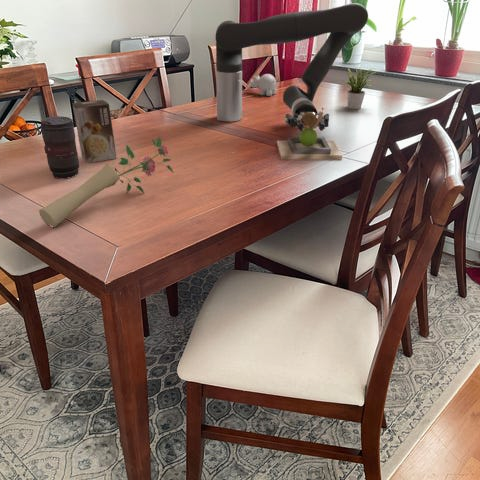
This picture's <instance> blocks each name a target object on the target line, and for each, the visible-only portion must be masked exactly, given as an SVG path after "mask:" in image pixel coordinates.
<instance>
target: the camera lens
mask: <svg viewBox="0 0 480 480" xmlns="http://www.w3.org/2000/svg"><path fill="white" fill-rule="evenodd" d="M74 126H75V125H74V123H73V119H72V118H70V117H67V116H62V115H61V116H49V117H48V116H47V117H45V118H43V119H41V120H40V130H41V135H42V136H41V137H42V139H43V140H42V141H43V142H44V153H45V154H46V161H47V165H48V167H49V171H50V172H51V173H52V176H53V178H55V177H57V178H56V179H60V178H64V179H69V178H68V177H71V178H73V177H72V176H74V177H76V176H77V175H78V174H79V168H80V163H79V162H80V161H79V154H78V149H77V142H76V133H75V127H74ZM75 175H76V176H75Z"/></svg>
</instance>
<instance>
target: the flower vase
mask: <svg viewBox="0 0 480 480" xmlns="http://www.w3.org/2000/svg"><path fill="white" fill-rule="evenodd" d="M151 141H152V143H153V145H154V148H153V149H154V152H157V151H158V153H156V154H155V155H154V156H152V157H151V156H147V155H146V156H144V158H143V159H142V162H141V161H140V162H139V163H140V164H138V165H136V166H134V167H131V168H128V169H127V170H126V171H123V173H120V171H119V170H118V169H117V167H114V168H112V166H110V164H109V163H108V162H107V163H106V164H105V165H103V167H102V168H101V169H100V170H99V171H97V173H95V174H94V175H93V176H92V177H91V178H89V179H88V180H86V181H85V182H84V183H83V184H81V185H80V186H79V187H77V188H75V189H74V190H71V191H70V192H68V193H67V194H65V195H63V196H61V197H59V198H57V199H56V200H54V201H53V202H50V203H49V204H47V205H46V206H44V207H42V208H40V209H39V210H38V212H39V216H40V218H41V220H42V221H44V223H45V224H46V223H47V224H49V225H51V226H53V227H54V228H56V227H57V226H58V225H59V224H60V223H61V222H62V221H64V220H65V219H67V218H68V217H69V216H70V215H71V214H72V213H74V212H75V211H76V210H77V209H78V208H80V207H81V206H82V205H83V204H85V203H86V202H87V201H88V200H89V199H91V198H93V197H94V196H95V195H97V194H99V193H100V192H102V191H104V190H105V189H107V188H110V187H113V186H115V185H116V184H117V182H118V181H120V182H121V183H122V184H124V180H122V179H121V176H122V177H124V178H126V177H125V176H124V175H125V174H128V173H130V172H133V171H135V170H138V169H140V168H142V171H141V172H142V173H143V172H144V173H145V175H147V176H148V177H149V176H152V174H154V172H155V171H156V164H157V162H155V161H154V160H153V159H155V158H156V157H157V156H159V155H160V157H161V156H163V157H166V156H167V155H168V154H169V151H168V147H167V146H165V145H163V144H162V142H163V141H162V138H161V136H159V137H158V139H156V141H155V139H153V138H151ZM125 148H126V149H125V150H126V155H128V157H127V158H128V159H127V158H126V157H120V161H119V163H118V165H120V166H123V168H125V166H127V165H131V163H132V162H131V161H132V160H133V159H135V154H134V152H133V150H132V149H131V147H130V146H129V145H128V144H126V146H125ZM129 159H130V160H129ZM171 160H172V159H171V158H163V159H162V161H161V162H160V163H159V165H161V166H163V167H166V168H167V169H168V170H169V171H170V172H171V173H174V171H173V168H172V167H171V166H170V165H169V164H168V165H162V164H161V163H165V162H169V161H171ZM118 173H119V174H118ZM127 180H128V183H127V186H126V192H127V191H128V192H130V191H131V190H132V185H131V183H132V182H131V181H134V182H136V183H139V184H140V183H141V182H142V181H141V180H140V178H138V177H137V176H134V178H133V179H131V178H127ZM130 180H131V181H130ZM133 186H134V187H136V188H137V189H139V191H140V192H142V194H145V191H144V189H143V188H142V186H141V185H134V184H133ZM47 224H46V225H47Z"/></svg>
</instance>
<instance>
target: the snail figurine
mask: <svg viewBox="0 0 480 480" xmlns="http://www.w3.org/2000/svg"><path fill="white" fill-rule="evenodd" d="M323 111H324V107H321V111H319V112H318V118H316V116H315V114H313V113H312V112H307V113H305V114H303V116H302V123H303V124H304V125H303V131H300V134H299V136H298V137H299V140H300V142H301V144H302V145H304V146H312V145H314V144H315V143H316V141H317V137H318V134H317V131H316V130H314V129H316V128H319V127H318V125H319V123H320V121H321V118H322V116H324V112H323Z"/></svg>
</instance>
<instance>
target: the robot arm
mask: <svg viewBox="0 0 480 480" xmlns="http://www.w3.org/2000/svg"><path fill="white" fill-rule="evenodd" d="M368 20H369V11H368V9H366V7H365V6H364V5H363V4H361V3H357V2H352V3H351V2H350V3H348V4H344V5H341V6H336V7H332V8H329V9H328V8H327V9H320V10H319V9H318V10H317V9H316V10H306V11H304V10H303V11H294V12H288V13H280V14H276V15H272V16H270V17H266V18H265V19H261V20H258V21H251V22H236V21H233V20H225V21H223V22H221V23H220V24H219V25H218V26H217V28H216V31H215V35H214V37H215V50H216V51H215V52H216V53H215V55H216V56H215V58H216V59H215V61H216V62H215V68H216V69H215V71H216V72H215V73H216V121H221V122H237V121H241V120H242V119H243V49H245V48H250V47H254V46H261V45H277V44H278V45H279V44H288V43H296V42H300V41H305V40H309V39H312V38H315V37H318V36H322V35H325V34H329V35H328V36H327V38H326V40H325V42H324V43H323V45H322V46H321V47H320V49H318V51H317V53H316V54H315V56H313V58H312V60H311V61H310V63H309V64H308V65H307V67H306V68H305V70H304V71H303V72H302V74H301V78H300V79H301V81H302V82H303V83H304V85H305V86H306V91H304V90H303V89H302V88H301V87H300V86H297V85H296V84H294V85H293V84H292V85H289V86H287V88H285V90H284V91H283V94H282V101H283V103H284V105H286V107H287V108H289V110H291V114H289V113H286V114H285V124H287V125H288V126H289V127H290V128H294V127H295V128H296V129H297V130H299V131H300V132H302V131H303V130H304V128H303V125H304V124H303V123H302V116H303V114H305V113H307V112H312V113H313V114H315V116H316V118H318V113H319V112H318V109H317V108H316V106H315V105H314V103H313V102H314V99H315V96H316V94H317V93H316V92H317V91H318V89H319V86H320V84H321V83H322V82H323V80H324V79H325V77H326V76H327V75H328V73H329V72H330V70H331V68H332V66H333V65H334V63H335V61H336V59H337V57H338V55H339V54H340V52H341V51H342V49H343V48H344V46H345V45H346V44H347V43H348V42H349V40H351V38H352V37H354V35H356V34H357V33H358V32H360V31H361V30H363V29H364V28H365V26H366V24H367V22H368ZM329 121H330V114H329V113H325V114H323V115H322V118H321V121H320V123H319V125H318V127H317V128H318V129H319V130H320V132H322V131H324V130H325V129H326V128H328V127H329Z"/></svg>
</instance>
